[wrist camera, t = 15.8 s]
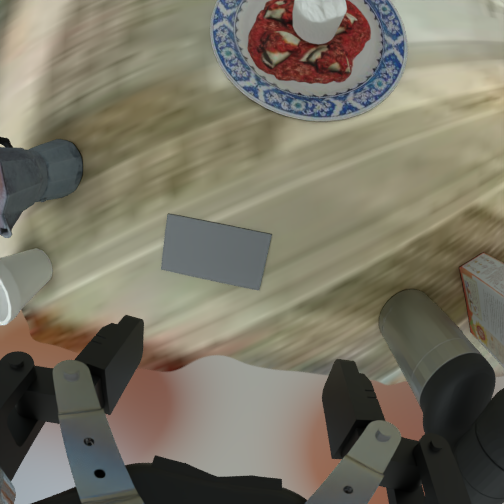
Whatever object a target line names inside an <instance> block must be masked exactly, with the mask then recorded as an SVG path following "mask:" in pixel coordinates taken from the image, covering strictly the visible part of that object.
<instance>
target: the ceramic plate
mask: <svg viewBox="0 0 504 504" xmlns="http://www.w3.org/2000/svg"><path fill="white" fill-rule="evenodd" d="M345 1H346V5H347V11H346V14H345V16H344V18H343V19H342V21H341V23H340V25H339V27H338V29H337V31H336V33H335V35H334V37H333V39H332V40H330V41H329V42H327V43H324V44H313V43H309V42H307V41H305V40H303V39H302V38H301V37H299V36H298V35H297V33H296V32H295V30H294V28H293V7H294V0H217V2H216V4H215V7H214V10H213V13H212V17H211V25H210V34H211V43H212V48H213V51H214V54H215V56H216V59H217V61H218V63H219V65H220V67H221V69H222V70H223V72H224V73H225V75H226V76H227V77H228V79H229V80H230V81H231V82H232V83H233V84H234V85H235V86H236V87H237V88H238V89H239V90H240V91H241V92H242V93H243V94H245V95H246V96H247V97H248V98H250V99H252V100H253V101H255V102H256V103H258V104H259V105H261V106H263V107H265V108H267V109H269V110H271V111H274V112H276V113H279V114H282V115H285V116H288V117H292V118H296V119H302V120H309V121H334V120H341V119H346V118H350V117H354V116H357V115H359V114H362V113H364V112H366V111H368V110H370V109H372V108H374V107H375V106H377V105H378V104H380V103H381V102H382V101H383V100H385V99H386V98H387V97H388V96H389V95H390V94H391V93H392V91H393V90H394V89H395V87H396V86H397V84H398V83H399V81H400V79H401V77H402V75H403V72H404V69H405V66H406V61H407V51H408V46H407V37H406V32H405V28H404V25H403V22H402V20H401V17H400V15H399V13H398V11H397V10H396V8H395V6H394V5H393V3H392V2H391V0H345Z"/></svg>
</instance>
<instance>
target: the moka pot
mask: <svg viewBox="0 0 504 504" xmlns="http://www.w3.org/2000/svg"><path fill="white" fill-rule="evenodd" d="M0 144H2V145H4V146H5V148H4V147H0V235H2V236H3V237H5V238H10V237H11V235H12V232H11V230H12V228H13V226H14V224H15V223H16V221H17V220H18V218H19V217H20V215H21V213H22V212H23V211H24V210H25V209H27V208H28V207H30V206H32V205H33V204H34V203H35V202H39V201H41V202H44V201H46V200H51V199H57V198H62V197H64V196H67V195H69V194H70V193H72V192H74V191H75V190H76V188H77V186H78V184H79V182H80V180H81V177H82V171H83V169H82V158H81V155H80V153H79V151H78V150H77V148H76V147H75V145H74V144H73V143H71V142H69V141H66V140H61V139H56V140H53V141H50V142H47V143H44V144H41V145H38V146H36V147H33V148H31V149H29V150H24V149H23V148H13V146H12V145H11V143H10V141H9V139H8V138H3V137H0Z"/></svg>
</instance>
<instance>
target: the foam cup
mask: <svg viewBox="0 0 504 504" xmlns="http://www.w3.org/2000/svg"><path fill="white" fill-rule="evenodd" d="M52 272H53V270H52V264H51V261H50V259H49V257H48V256H47V255H46V253H45V252H44V251H43V250H40V249H38V248H35V249H31V250H27V251H24V252H20V253H17V254H13V255H10V256H6V257H3V258H0V325H6V324H8V323H9V322H10V321H12V320H13V319H14V318H15V317H16V316H17V315H18V313H19V312H20V310H21V309H22V308H23V307H24V306H25V305H26V304H27V303H28V302H29V301H30V300H31V299H32V298H33V297H34V296H35V294H36V293H37V292H38V291H39V290H40V289H41V288H42V287H43V286H44V285H45V284H46V283H47V282H48V281H49V280H50V279H51V277H52Z"/></svg>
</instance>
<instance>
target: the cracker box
mask: <svg viewBox="0 0 504 504" xmlns="http://www.w3.org/2000/svg"><path fill="white" fill-rule="evenodd" d="M459 269H460V273H461V278H462V283H463V288H464V293H465V299H466V304H467V310H468V317H469V323H470V331H471V333H472V334H473V335H474V336H475V337H476V338H477V339H478V340H479V341H480V343H481V344H482V345H483V346H484V347H485V348H486V349H487V350H488V351H489V352H490V353H491V354H492V355H493V356H494V357H495V359H496V360H497V361H498V362H499V363H500V364H501V365H502V366H503V367H504V263H502V262H501V261H499V260H497V259H495V258H493V257H491V256H490V255H488V254H486V253H484V252H483V253H482V254H480V255H479V256H477V257H475V258H474V259H472V260H471V261H469V262H467V263H466V264H464V265H462V266H461V267H459Z"/></svg>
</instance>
